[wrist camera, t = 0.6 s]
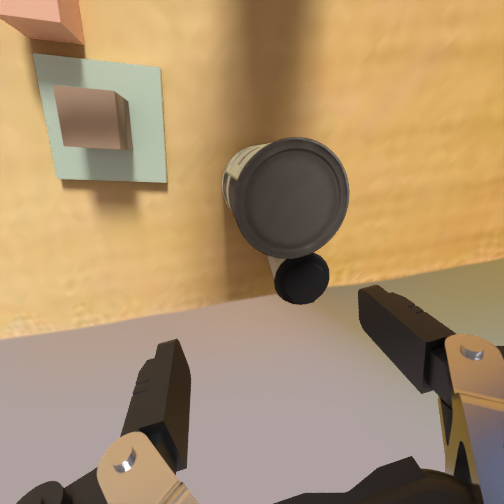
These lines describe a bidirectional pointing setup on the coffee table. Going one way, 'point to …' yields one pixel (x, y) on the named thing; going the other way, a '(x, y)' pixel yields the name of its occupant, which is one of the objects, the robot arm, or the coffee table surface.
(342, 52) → the coffee table surface
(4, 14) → the terracotta block
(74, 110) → the walnut block
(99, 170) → the baseplate
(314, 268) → the coffee cup
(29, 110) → the coffee table surface
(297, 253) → the coffee can
